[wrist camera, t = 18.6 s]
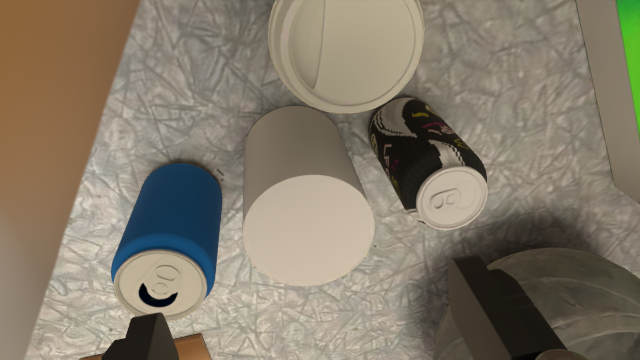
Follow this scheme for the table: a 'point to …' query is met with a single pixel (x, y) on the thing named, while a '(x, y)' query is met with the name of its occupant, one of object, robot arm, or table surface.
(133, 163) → the table surface
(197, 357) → the cork mat
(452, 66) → the table surface
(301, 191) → the cup
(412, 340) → the table surface
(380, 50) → the coffee cup
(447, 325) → the bowl
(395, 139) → the beverage can
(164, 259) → the beverage can
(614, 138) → the tray
